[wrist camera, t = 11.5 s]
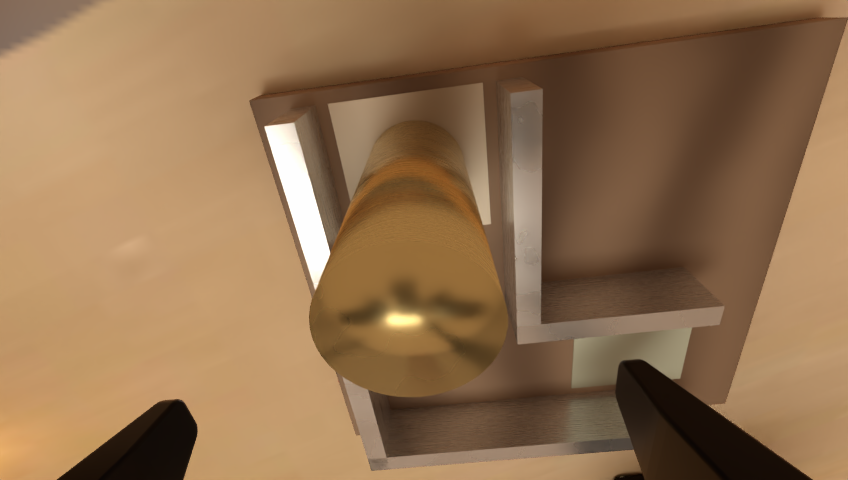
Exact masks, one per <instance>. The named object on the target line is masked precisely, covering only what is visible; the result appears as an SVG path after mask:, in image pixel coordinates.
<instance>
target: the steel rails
mask: <svg viewBox="0 0 848 480" xmlns="http://www.w3.org/2000/svg"><path fill="white" fill-rule="evenodd" d="M496 97H497V120H498V143H499V166H500V189H501V212H502V235H503V258H504V281H505V303H506V306H507V310H508V313H509V317H510V320H511V324H512V327H513V331H514V334H515V337H516V341H517V344H528V343H539V342H549V341H559V340H569V339H579V338H590V337H600V336H610V335H620V334H631V333H641V332H651V331H661V330H672V329H682V328H692V327H702V326H712V325H720V322H721V318H722V314H723V311H724V307H725V306H724V305H723V304H722V303H721V302H720V301H719V300H718V299H717V298H716V297H715V296H714V295H713V294H712V293H711V292H710V291H709V290H708V289H706V288H705V287H704V286H703V285H702V284H701V283H700V282H699V281H698V280H697V279H696V278H695V277H694V276H693V275H692V274H691V273H690V272H689V271H688V270H687V269H685V268H684V267H680V268H671V269H661V270H652V271H642V272H633V273H624V274H614V275H605V276H595V277H586V278H577V279H567V280H558V281H548V282H541V245H542V117H543V89H542V88H540V87H538V86H537V85H535V84H533V83H532V82H530V81H528V80H526V79H525V78H523V77H519V78H512V79H505V80H497V81H496ZM264 127H265V130H266V134H267V137H268V140H269V143H270V147H271V150H272V153H273V156H274V159H275V163H276V166H277V169H278V172H279V175H280V179H281V182H282V185H283V188H284V191H285V195H286V198H287V201H288V204H289V208H290V211H291V214H292V217H293V220H294V224H295V227H296V230H297V233H298V236H299V240H300V243H301V246H302V249H303V252H304V256H305V259H306V262H307V265H308V269H309V272H310V275H311V278H312V281H313V285H314V288H315V290H316V288H317V285H318V283H319V280H320V278H321V275H322V273H323V270H324V268H325V265H326V263H327V260H328V258H329V255H330V253H331V250H332V248H333V245H334V243H335V240H336V238H337V235H338V233H339V230H340V228H341V225H342V223H343V220H344V219H343V215H342V211H341V207H340V203H339V198H338V194H337V190H336V186H335V182H334V178H333V174H332V170H331V166H330V162H329V158H328V154H327V150H326V146H325V142H324V138H323V134H322V130H321V125H320V121H319V117H318V113H317V109H316V105H315V106H307V107H300V108H293V109H290V110H288V111H287V112H285V113H284V114H282V115H281V116H279V117H278V118H276V119H275V120H273V121H272V122H270V123H269V124H267V125H266V126H264ZM342 378H343V381H344V384H345V387H346V390H347V394H348V397H349V400H350V403H351V407H352V410H353V413H354V416H355V419H356V423H357V426H358V429H359V432H360V435H361V439H362V442H363V445H364V448H365V451H366V455H367V458H368V461H369V464H370V468H371V471H374V470H386V469H399V468H411V467H423V466H436V465H448V464H460V463H473V462H485V461H497V460H510V459H522V458H534V457H547V456H559V455H572V454H584V453H596V452H609V451H621V450H633V449H634V448H633V445H632V443H631V440H630V437H629V434H628V431H627V428H626V426H625V423H624V420H623V417H622V414H621V412H620V409H619V406H618V403H617V400H616V395H615V390H605V391H594V392H583V393H572V394H560V395H549V396H538V397H527V398H516V399H505V400H494V401H483V402H471V403H460V404H449V405H438V406H427V407H416V408H405V409H394V410H391V409H390V405H389V401H388V397H387V395H384V394H380V393H376V392H373V391H370V390H367V389H364V388H362V387H360V386H358V385H356V384H354V383H352V382H350V381H349V380H347V379H345V378H344V377H342Z"/></svg>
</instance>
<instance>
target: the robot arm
mask: <svg viewBox="0 0 848 480" xmlns="http://www.w3.org/2000/svg"><path fill="white" fill-rule="evenodd" d="M615 395H616V400H617V403H618V406H619V409H620V412H621V414H622V417H623V420H624V423H625V426H626V428H627V431H628V434H629V437H630V440H631V443H632V445H633V448H634V451H635V454H636V457H637V459H638V462H639V465H640V468H641V471H642V473H643V476H632V477H620V478H617V479H615V480H813V479H811V478H810V477H808V476H807V475H806V474H804V473H803V472H801V471H800V470H798V469H797V468H796V467H794V466H793V465H791V464H790V463H789V462H787V461H786V460H784V459H783V458H782V457H780V456H779V455H777V454H776V453H774V452H773V451H772V450H770V449H769V448H767V447H766V446H765V445H763V444H762V443H760V442H759V441H758V440H756V439H755V438H753V437H752V436H750V435H749V434H748V433H746V432H745V431H743V430H742V429H741V428H739V427H738V426H736V425H735V424H734V423H732V422H731V421H729V420H728V419H726V418H725V417H724V416H722V415H721V414H719V413H718V412H717V411H715V410H714V409H712V408H711V407H710V406H708V405H707V404H705V403H704V402H703V401H701V400H700V399H698V398H697V397H695V396H694V395H693V394H691V393H690V392H688V391H687V390H686V389H684V388H683V387H681V386H680V385H679V384H677V383H676V382H674V381H673V380H671V379H670V378H669V377H667V376H666V375H664V374H663V373H662V372H660V371H659V370H657V369H656V368H655V367H653V366H652V365H650V364H649V363H647V362H646V361H644V360H642V359H632V360H623V361H621V362H620V363H619V366H618V372H617V380H616V387H615ZM197 432H198V431H197V424H196V422H195V420H194V418H193V417H192V415H191V413H190V411H189V410H188V408H187V406H186V404H185V403H184V402H183V401H182V400H180V399H174V400H164V401H160V402H158V403H157V404H155V405H154V406H153V407H151V408H150V409H149V410H147V411H146V412H145V413H143V414H142V415H141V416H140V417H138V418H137V419H136V420H134V421H133V422H132V423H130V424H129V425H128V426H126V427H125V428H124V429H123V430H121V431H120V432H119V433H117V434H116V435H115V436H113V437H112V438H111V439H109V440H108V441H107V442H106V443H104V444H103V445H102V446H100V447H99V448H98V449H96V450H95V451H94V452H92V453H91V454H90V455H88V456H87V457H86V458H85V459H83V460H82V461H81V462H79V463H78V464H77V465H75V466H74V467H73V468H71V469H70V470H69V471H68V472H66V473H65V474H64V475H62V476H61V477H60V478H58V479H57V480H183V479H184V476H185V473H186V469H187V466H188V463H189V460H190V457H191V454H192V450H193V447H194V444H195V441H196V437H197Z"/></svg>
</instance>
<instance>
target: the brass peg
mask: <svg viewBox="0 0 848 480" xmlns="http://www.w3.org/2000/svg"><path fill="white" fill-rule="evenodd" d="M309 323H310V330H311V334H312V338H313V341H314V343H315V345H316V348H317V349H318V351H319V352H320V354H321V356H322V357H323V358H324V360H325V361H326V362H327V363H328V364H329V365H330V366H331V367H332V368H333V369H334V370H335V371H336V372H337V373H338V374H340V375H341V376H342V377H344V378H345V379H347V380H349V381H350V382H352V383H354V384H356V385H358V386H360V387H362V388H364V389H367V390H370V391H373V392H376V393H380V394H384V395H390V396H397V397H423V396H431V395H436V394H440V393H444V392H447V391H450V390H453V389H456V388H458V387H460V386H462V385H465V384H466V383H468V382H470V381H471V380H473V379H475V378H476V377H477V376H479V375H480V374H481V373H483V372H484V371H485V370H486V369H487V368H488V367H489V366H490V365H491V363H492V362H493V361H494V360H495V358H496V357H497V355H498V354H499V352H500V350H501V348H502V346H503V344H504V341H505V338H506V334H507V329H508V314H507V307H506V303H505V300H504V297H503V293H502V290H501V286H500V283H499V279H498V276H497V272H496V269H495V265H494V262H493V258H492V255H491V251H490V248H489V244H488V241H487V238H486V234H485V231H484V227H483V224H482V220H481V217H480V213H479V210H478V206H477V203H476V199H475V196H474V192H473V189H472V185H471V182H470V179H469V175H468V172H467V168H466V165H465V161H464V158H463V154H462V151H461V149H460V147H459V145H458V143H457V142H456V140H455V139H454V138H453V136H452V135H451V134H450V133H449V132H447V131H446V130H445V129H443V128H442V127H440V126H438V125H436V124H433V123H431V122H427V121H420V120H412V121H405V122H401V123H399V124H396V125H394V126H392V127H390V128H389V129H387V130H386V131H385V132H384V133H383V134H382V135H381V136H380V137H379V138H378V139H377V141H376V142H375V144H374V146H373V148H372V150H371V152H370V155H369V157H368V160H367V162H366V165H365V167H364V170H363V172H362V175H361V178H360V180H359V183H358V185H357V188H356V190H355V193H354V195H353V198H352V200H351V203H350V205H349V208H348V210H347V213H346V215H345V218H344V220H343V223H342V225H341V228H340V230H339V233H338V235H337V238H336V240H335V243H334V245H333V248H332V250H331V253H330V255H329V258H328V260H327V263H326V265H325V268H324V270H323V273H322V275H321V278H320V280H319V283H318V285H317V288H316V290H315V293H314V295H313V298H312V302H311V306H310V314H309Z"/></svg>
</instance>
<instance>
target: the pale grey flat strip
mask: <svg viewBox="0 0 848 480" xmlns="http://www.w3.org/2000/svg"><path fill="white" fill-rule="evenodd" d="M847 20H848V18H814V19H806V20H799V21H792V22H785V23H778V24H770V25H763V26H756V27H749V28H742V29H735V30H727V31H720V32H713V33H706V34H699V35H692V36H684V37H677V38H670V39H663V40H656V41H649V42H641V43H634V44H627V45H620V46H613V47H605V48H598V49H591V50H584V51H577V52H570V53H562V54H555V55H548V56H541V57H534V58H527V59H519V60H512V61H505V62H498V63H491V64H483V65H476V66H469V67H462V68H455V69H448V70H440V71H433V72H426V73H419V74H412V75H405V76H397V77H390V78H383V79H376V80H369V81H362V82H354V83H347V84H340V85H333V86H326V87H318V88H311V89H304V90H297V91H290V92H283V93H275V94H268V95H261V96H258V97H256V98H254V99H252V100H250V105H251V108H252V111H253V114H254V117H255V120H256V123H257V127H258V130H259V133H260V136H261V139H262V142H263V145H264V148H265V152H266V155H267V158H268V161H269V164H270V167H271V170H272V174H273V177H274V180H275V183H276V186H277V189H278V192H279V195H280V199H281V202H282V205H283V208H284V211H285V214H286V217H287V220H288V224H289V227H290V230H291V233H292V236H293V239H294V242H295V246H296V249H297V252H298V255H299V258H300V261H301V264H302V267H303V271H304V274H305V277H306V280H307V283H308V286H309V289H310V293H311V296H312V298H313V295H314V293H315V288H314V285H313V281H312V278H311V275H310V272H309V269H308V265H307V262H306V259H305V256H304V252H303V249H302V246H301V243H300V240H299V236H298V233H297V230H296V227H295V224H294V220H293V217H292V214H291V211H290V208H289V204H288V201H287V198H286V195H285V191H284V188H283V185H282V182H281V179H280V175H279V172H278V169H277V166H276V163H275V159H274V156H273V153H272V150H271V147H270V143H269V140H268V137H267V134H266V130H265V127H264V126H266V125H267V124H269V123H270V122H272V121H273V120H275V119H276V118H278V117H279V116H281V115H282V114H284V113H285V112H287V111H288V110H290V109H293V108H300V107H307V106H315V105H316V109H317V113H318V117H319V121H320V125H321V130H322V134H323V138H324V142H325V146H326V150H327V154H328V158H329V162H330V166H331V170H332V174H333V178H334V182H335V186H336V190H337V194H338V198H339V203H340V207H341V211H342V215H343V219H344V218H345V215H346V213H347V210H348V208H349V205H350V203H351V200H352V198H353V195H354V193H355V190H356V188H357V185H358V183H359V180H360V178H361V175H362V172H363V170H364V167H365V165H366V162H367V160H368V157H369V155H370V152H371V150H372V148H373V146H374V144H375V142H376V141H377V139H378V138H379V137H380V136H381V135H382V134H383V133H384V132H385V131H386V130H387V129H389V128H390V127H392V126H394V125H396V124H399V123H401V122H405V121H412V120H420V121H427V122H431V123H433V124H436V125H438V126H440V127H442V128H443V129H445V130H446V131H447V132H449V133H450V134H451V135H452V136H453V138H454V139H455V140H456V142H457V143H458V145H459V147H460V149H461V151H462V154H463V158H464V161H465V165H466V168H467V172H468V175H469V179H470V182H471V185H472V189H473V192H474V196H475V199H476V203H477V206H478V210H479V213H480V217H481V220H482V224H483V227H484V231H485V234H486V238H487V241H488V244H489V248H490V251H491V255H492V258H493V262H494V265H495V269H496V272H497V276H498V279H499V283H500V286H501V290H502V293H503V297H504V300H505V281H504V258H503V235H502V212H501V189H500V166H499V143H498V120H497V97H496V81H497V80H505V79H512V78H519V77H523V78H525V79H526V80H528V81H530V82H532V83H533V84H535V85H537V86H538V87H540V88H542V89H543V117H542V245H541V282H548V281H558V280H567V279H577V278H586V277H595V276H605V275H614V274H624V273H633V272H642V271H652V270H661V269H671V268H680V267H684V268H685V269H687V270H688V271H689V272H690V273H691V274H692V275H693V276H694V277H695V278H696V279H697V280H698V281H699V282H700V283H701V284H702V285H703V286H704V287H705V288H706V289H708V290H709V291H710V292H711V293H712V294H713V295H714V296H715V297H716V298H717V299H718V300H719V301H720V302H721V303H722V304H723V305H724V306H725V307H724V311H723V314H722V318H721V322H720V325H712V326H702V327H692V328H682V329H672V330H661V331H651V332H641V333H631V334H620V335H610V336H600V337H590V338H579V339H569V340H559V341H549V342H539V343H528V344H517V341H516V337H515V334H514V331H513V327H512V324H511V320H510V317H509V313H508V310H507V314H508V329H507V334H506V338H505V341H504V344H503V346H502V348H501V350H500V352H499V354H498V355H497V357H496V358H495V360H494V361H493V362H492V363H491V365H490V366H489V367H488V368H487V369H486V370H485V371H484V372H483V373H481V374H480V375H479V376H477V377H476V378H475V379H473V380H471V381H470V382H468V383H466V384H465V385H462V386H460V387H458V388H456V389H453V390H450V391H447V392H444V393H440V394H436V395H431V396H423V397H397V396H390V395H387V397H388V401H389V405H390V409H391V410H394V409H405V408H416V407H427V406H438V405H449V404H460V403H471V402H483V401H494V400H505V399H516V398H527V397H538V396H549V395H560V394H572V393H583V392H594V391H605V390H615V387H616V380H617V372H618V366H619V363H620V362H621V361H623V360H632V359H642V360H644V361H646V362H647V363H649V364H650V365H652V366H653V367H655V368H656V369H657V370H659V371H660V372H662V373H663V374H664V375H666V376H667V377H669V378H670V379H671V380H673V381H674V382H676V383H677V384H679V385H680V386H681V387H683V388H684V389H686V390H687V391H688V392H690V393H691V394H693V395H694V396H695V397H697V398H698V399H700V400H701V401H703V402H704V403H705V404H707V405H712V404H723V403H725V402H726V399H727V396H728V393H729V390H730V387H731V383H732V380H733V377H734V374H735V371H736V368H737V365H738V361H739V358H740V355H741V352H742V349H743V346H744V343H745V340H746V336H747V333H748V330H749V327H750V324H751V321H752V318H753V314H754V311H755V308H756V305H757V302H758V299H759V296H760V293H761V289H762V286H763V283H764V280H765V277H766V274H767V271H768V267H769V264H770V261H771V258H772V255H773V252H774V249H775V245H776V242H777V239H778V236H779V233H780V230H781V227H782V224H783V220H784V217H785V214H786V211H787V208H788V205H789V202H790V198H791V195H792V192H793V189H794V186H795V183H796V180H797V177H798V173H799V170H800V167H801V164H802V161H803V158H804V155H805V151H806V148H807V145H808V142H809V139H810V136H811V133H812V130H813V126H814V123H815V120H816V117H817V114H818V111H819V108H820V104H821V101H822V98H823V95H824V92H825V89H826V86H827V83H828V79H829V76H830V73H831V70H832V67H833V64H834V61H835V57H836V54H837V51H838V48H839V45H840V42H841V39H842V35H843V32H844V29H845V26H846V23H847ZM506 307H507V306H506ZM336 374H337V377H338V380H339V383H340V386H341V390H342V393H343V396H344V399H345V402H346V405H347V408H348V412H349V415H350V418H351V421H352V424H353V427H354V430H355V433H356V435H360V432H359V429H358V426H357V423H356V419H355V416H354V413H353V410H352V407H351V403H350V400H349V397H348V394H347V390H346V387H345V384H344V381H343V378H342V376H341V375H340V374H338V373H337V372H336Z"/></svg>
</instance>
